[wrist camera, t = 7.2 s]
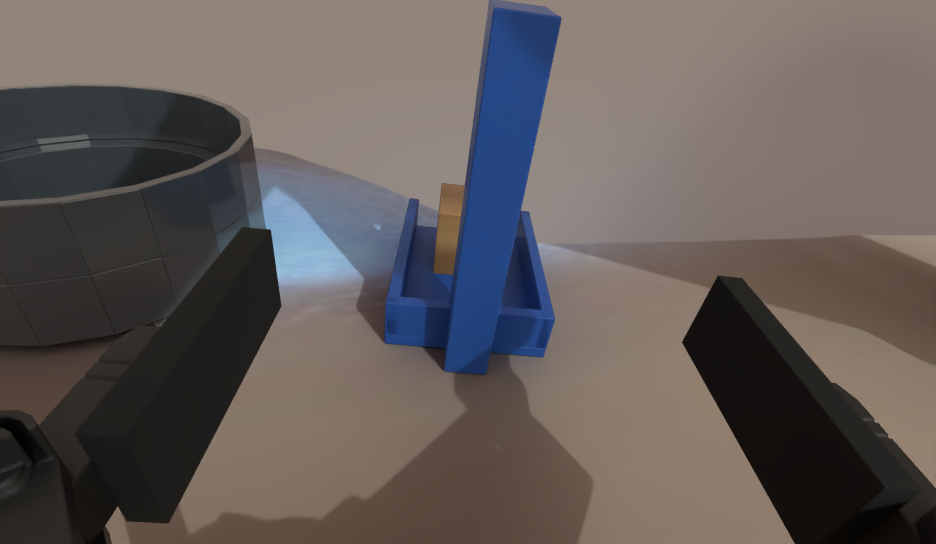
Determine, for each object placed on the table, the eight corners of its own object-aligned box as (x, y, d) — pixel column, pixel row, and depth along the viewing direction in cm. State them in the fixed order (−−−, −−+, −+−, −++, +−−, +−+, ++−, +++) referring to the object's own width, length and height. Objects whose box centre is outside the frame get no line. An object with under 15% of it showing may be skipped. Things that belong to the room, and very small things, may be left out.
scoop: (547, 380, 22) (663, 31, 13) (379, 366, 21) (387, -9, 13) (521, 244, 32) (577, -3, 24) (407, 232, 31) (422, -26, 23)
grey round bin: (323, 244, 29) (315, 136, 25) (7, 418, 17) (-104, 262, 13) (164, 170, 34) (137, 71, 30) (-159, 260, 22) (-272, 117, 18)
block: (499, 280, 27) (511, 221, 25) (432, 273, 27) (438, 213, 24) (496, 244, 30) (506, 190, 28) (436, 238, 30) (441, 182, 28)
